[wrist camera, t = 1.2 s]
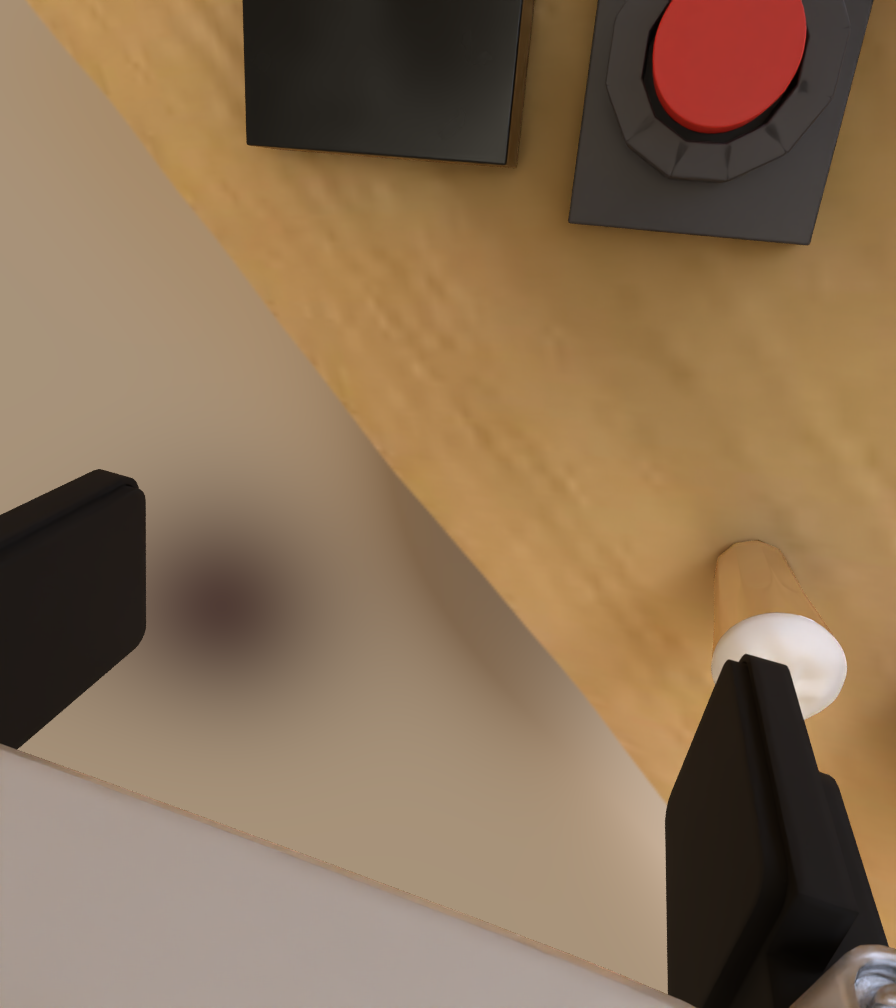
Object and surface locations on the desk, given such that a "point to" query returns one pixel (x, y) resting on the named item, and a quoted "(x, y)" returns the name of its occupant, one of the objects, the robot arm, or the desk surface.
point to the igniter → (710, 136)
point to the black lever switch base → (388, 77)
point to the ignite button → (726, 59)
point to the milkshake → (774, 623)
